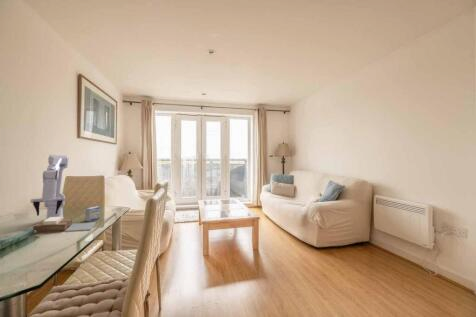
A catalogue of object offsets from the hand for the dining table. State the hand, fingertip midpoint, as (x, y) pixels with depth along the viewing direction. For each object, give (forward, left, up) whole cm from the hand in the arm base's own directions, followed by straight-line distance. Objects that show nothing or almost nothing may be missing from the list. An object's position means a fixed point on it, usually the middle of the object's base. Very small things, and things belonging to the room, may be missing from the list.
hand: (47, 214), depth 116 cm
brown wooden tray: (-5, +2, -10) cm, 11 cm away
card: (-5, +1, -6) cm, 8 cm away
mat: (-5, +15, -10) cm, 19 cm away
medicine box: (-21, +18, -10) cm, 29 cm away
